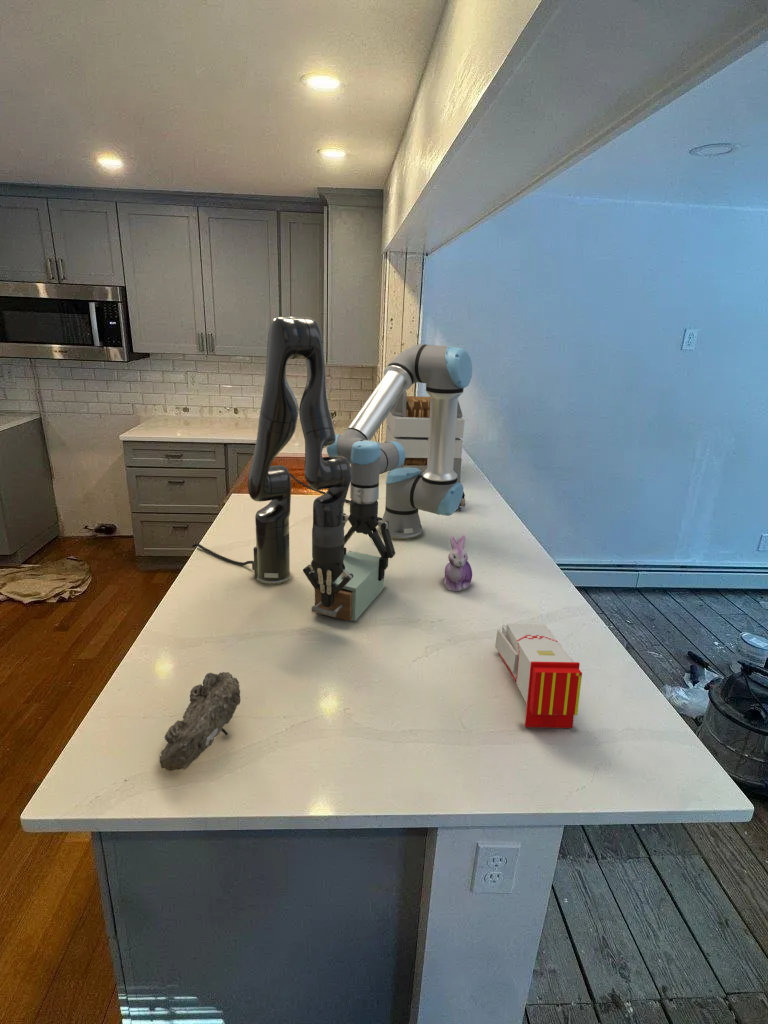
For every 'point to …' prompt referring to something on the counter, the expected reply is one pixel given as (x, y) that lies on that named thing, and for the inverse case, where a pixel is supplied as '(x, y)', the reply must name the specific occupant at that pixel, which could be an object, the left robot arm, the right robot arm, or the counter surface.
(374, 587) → the cabinet
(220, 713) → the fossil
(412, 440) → the white wooden crate
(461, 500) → the figurine character
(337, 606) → the drawer
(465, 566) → the figurine
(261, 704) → the counter surface
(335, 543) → the left robot arm
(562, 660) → the toy
